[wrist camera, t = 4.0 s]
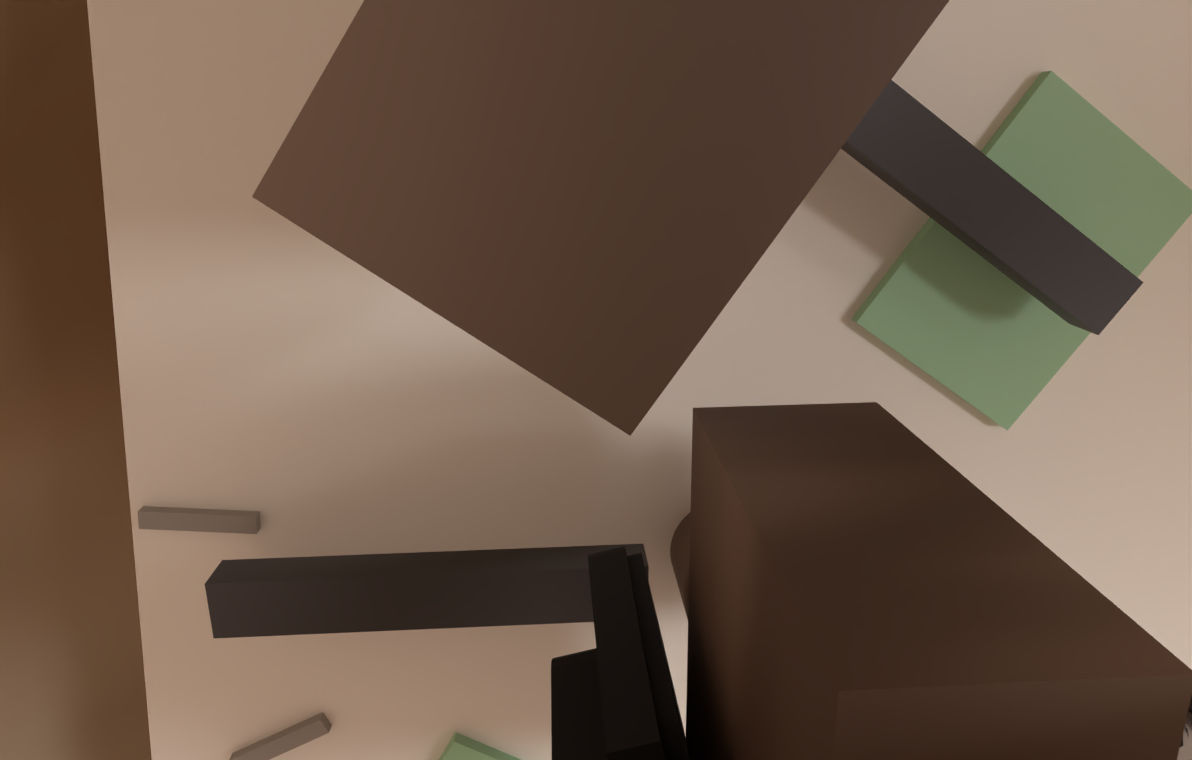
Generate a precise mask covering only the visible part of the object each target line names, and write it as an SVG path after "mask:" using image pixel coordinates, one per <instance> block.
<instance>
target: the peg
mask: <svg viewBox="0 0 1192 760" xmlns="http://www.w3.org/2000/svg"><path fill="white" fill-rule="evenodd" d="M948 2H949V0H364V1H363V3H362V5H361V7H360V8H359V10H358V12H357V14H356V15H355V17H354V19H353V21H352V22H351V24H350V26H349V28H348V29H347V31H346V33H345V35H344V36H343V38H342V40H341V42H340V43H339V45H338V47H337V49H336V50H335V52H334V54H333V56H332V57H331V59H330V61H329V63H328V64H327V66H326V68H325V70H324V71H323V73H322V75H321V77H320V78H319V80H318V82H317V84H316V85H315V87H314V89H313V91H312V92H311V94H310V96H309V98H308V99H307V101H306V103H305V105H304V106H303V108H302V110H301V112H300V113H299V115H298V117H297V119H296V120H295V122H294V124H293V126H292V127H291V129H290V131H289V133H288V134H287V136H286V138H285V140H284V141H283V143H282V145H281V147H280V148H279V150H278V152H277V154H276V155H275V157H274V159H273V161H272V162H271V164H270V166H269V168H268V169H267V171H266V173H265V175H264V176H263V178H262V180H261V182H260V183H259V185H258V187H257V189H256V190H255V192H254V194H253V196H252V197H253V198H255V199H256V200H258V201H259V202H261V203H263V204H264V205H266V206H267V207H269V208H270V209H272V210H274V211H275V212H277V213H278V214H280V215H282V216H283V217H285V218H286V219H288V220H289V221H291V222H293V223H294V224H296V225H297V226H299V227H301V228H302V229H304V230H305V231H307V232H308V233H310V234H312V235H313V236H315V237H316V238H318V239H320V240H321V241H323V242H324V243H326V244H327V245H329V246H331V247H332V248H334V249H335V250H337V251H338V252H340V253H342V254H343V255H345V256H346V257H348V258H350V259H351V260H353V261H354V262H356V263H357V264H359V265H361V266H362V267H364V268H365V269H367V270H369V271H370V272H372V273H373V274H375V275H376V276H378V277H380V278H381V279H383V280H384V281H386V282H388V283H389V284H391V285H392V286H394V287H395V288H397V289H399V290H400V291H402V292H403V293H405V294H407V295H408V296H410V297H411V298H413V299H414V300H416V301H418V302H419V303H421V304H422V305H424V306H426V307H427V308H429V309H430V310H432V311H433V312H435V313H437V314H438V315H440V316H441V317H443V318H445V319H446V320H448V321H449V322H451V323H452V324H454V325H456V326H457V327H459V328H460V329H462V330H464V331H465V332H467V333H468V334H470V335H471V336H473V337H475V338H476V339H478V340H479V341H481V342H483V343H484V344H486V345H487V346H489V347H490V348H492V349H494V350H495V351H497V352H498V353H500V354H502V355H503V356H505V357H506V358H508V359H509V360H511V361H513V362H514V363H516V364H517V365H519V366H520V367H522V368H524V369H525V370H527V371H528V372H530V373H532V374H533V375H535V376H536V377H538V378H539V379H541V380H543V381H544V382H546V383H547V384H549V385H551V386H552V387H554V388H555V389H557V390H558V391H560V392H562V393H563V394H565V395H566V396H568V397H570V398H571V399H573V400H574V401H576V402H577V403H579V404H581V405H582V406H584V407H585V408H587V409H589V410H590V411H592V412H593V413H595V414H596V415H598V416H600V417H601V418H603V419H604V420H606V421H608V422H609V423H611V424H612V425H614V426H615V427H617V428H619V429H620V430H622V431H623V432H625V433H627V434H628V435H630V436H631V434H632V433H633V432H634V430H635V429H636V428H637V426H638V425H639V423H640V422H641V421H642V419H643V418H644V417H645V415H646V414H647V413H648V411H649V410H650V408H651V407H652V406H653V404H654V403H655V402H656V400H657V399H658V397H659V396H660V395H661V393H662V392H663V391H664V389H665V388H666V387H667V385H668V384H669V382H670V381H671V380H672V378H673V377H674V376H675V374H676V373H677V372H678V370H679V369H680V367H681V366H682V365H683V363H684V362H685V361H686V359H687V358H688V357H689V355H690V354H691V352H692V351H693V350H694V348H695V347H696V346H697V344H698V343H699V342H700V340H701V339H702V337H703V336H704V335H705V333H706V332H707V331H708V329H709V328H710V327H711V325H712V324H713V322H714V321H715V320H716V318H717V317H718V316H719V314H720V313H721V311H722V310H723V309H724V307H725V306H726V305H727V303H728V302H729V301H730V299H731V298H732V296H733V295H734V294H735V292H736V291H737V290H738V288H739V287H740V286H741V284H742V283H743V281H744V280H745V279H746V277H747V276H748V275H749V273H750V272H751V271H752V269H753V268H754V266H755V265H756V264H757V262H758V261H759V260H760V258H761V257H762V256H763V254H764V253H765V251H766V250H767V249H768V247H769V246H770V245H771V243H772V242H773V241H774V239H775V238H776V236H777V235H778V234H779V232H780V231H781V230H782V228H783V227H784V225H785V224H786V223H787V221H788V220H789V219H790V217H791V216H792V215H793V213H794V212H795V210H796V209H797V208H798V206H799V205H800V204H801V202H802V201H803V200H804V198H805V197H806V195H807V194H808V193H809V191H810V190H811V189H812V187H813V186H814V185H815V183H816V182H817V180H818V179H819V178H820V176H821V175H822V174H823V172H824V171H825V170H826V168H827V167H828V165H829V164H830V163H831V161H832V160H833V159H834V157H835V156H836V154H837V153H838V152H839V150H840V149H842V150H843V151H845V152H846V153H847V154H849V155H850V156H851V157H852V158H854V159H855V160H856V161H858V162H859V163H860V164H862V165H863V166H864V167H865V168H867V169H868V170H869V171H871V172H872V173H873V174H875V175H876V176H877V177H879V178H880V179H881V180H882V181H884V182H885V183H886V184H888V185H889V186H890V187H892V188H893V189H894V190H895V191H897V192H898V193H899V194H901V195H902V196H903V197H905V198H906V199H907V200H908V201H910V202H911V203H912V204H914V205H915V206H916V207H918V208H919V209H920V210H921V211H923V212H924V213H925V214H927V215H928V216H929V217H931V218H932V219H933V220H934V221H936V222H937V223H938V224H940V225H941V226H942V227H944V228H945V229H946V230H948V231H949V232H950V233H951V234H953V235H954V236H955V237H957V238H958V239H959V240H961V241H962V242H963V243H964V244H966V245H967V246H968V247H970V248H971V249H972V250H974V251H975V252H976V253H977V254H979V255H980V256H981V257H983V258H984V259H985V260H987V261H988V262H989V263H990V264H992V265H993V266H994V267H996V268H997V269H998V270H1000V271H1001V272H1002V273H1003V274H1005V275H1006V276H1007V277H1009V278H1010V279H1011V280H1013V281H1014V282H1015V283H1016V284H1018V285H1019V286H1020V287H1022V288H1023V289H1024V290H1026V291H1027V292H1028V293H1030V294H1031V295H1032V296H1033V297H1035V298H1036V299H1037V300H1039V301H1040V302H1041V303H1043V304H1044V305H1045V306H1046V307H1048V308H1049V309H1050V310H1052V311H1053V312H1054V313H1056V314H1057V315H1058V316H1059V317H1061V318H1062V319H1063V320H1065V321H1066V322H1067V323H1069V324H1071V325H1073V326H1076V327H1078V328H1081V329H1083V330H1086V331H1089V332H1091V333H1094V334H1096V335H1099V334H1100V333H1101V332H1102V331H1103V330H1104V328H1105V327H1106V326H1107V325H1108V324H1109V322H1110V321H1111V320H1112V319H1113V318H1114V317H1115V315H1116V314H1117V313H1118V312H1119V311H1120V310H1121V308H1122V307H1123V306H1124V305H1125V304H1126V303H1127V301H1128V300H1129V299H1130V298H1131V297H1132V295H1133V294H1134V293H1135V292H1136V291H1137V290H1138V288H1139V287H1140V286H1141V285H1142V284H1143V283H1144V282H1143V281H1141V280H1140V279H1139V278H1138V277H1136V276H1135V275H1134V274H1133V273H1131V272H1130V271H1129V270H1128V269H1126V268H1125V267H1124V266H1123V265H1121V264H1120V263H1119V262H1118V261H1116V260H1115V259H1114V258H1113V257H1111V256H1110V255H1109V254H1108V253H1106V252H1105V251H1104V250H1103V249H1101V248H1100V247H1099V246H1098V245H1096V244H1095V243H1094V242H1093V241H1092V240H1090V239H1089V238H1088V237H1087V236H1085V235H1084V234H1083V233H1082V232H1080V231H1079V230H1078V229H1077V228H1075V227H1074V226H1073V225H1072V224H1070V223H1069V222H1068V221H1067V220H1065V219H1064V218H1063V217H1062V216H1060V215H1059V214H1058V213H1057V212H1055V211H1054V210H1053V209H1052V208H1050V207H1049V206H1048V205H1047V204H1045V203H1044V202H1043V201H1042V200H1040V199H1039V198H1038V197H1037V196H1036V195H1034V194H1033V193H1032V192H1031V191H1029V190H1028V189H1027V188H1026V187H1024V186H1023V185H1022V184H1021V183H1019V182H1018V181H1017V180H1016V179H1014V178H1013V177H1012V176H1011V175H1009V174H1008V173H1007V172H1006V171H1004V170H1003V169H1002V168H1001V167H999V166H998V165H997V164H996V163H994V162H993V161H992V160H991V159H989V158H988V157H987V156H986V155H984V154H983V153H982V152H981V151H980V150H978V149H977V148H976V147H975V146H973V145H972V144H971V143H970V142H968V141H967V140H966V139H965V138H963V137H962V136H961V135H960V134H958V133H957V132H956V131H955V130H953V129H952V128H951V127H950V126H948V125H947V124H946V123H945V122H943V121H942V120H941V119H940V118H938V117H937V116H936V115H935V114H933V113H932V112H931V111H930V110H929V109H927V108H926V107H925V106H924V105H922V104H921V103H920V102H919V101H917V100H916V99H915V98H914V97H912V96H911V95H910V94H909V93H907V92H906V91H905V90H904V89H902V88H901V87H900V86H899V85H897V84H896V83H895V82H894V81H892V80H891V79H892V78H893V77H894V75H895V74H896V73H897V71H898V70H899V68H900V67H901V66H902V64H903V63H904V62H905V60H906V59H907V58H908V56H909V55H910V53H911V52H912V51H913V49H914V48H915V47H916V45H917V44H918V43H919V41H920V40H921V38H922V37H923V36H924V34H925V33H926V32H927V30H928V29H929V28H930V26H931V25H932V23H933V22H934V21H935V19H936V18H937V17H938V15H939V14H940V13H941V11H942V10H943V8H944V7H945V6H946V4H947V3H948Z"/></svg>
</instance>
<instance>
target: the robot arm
mask: <svg viewBox="0 0 1192 760" xmlns="http://www.w3.org/2000/svg"><path fill="white" fill-rule="evenodd" d="M588 566H589V576H590V587H591V597H592V608H593V618H594V629H595V639H596V648H595V649H590V650H586V651H582V652H577V653H573V654H569V655H564V656H560V657H556V658H553V659H552V660H551V737H552V760H690V756H689V751H688V747H687V742H686V736H685V732H684V728H683V723H682V719H681V715H680V710H679V706H678V702H677V698H676V694H675V690H674V685H673V681H672V677H671V673H670V669H669V665H668V660H667V656H666V652H665V648H664V644H663V640H662V635H661V631H660V627H659V623H658V619H657V615H656V610H655V606H654V602H653V598H652V594H651V590H650V585H649V581H648V577H647V573H646V569H645V565H644V560H643V556H642V552H641V553H637V554H633V555H629V556H627V552H626V549H625V546H622V547H618V548H614V549H610V550H605V551H601V552H597V553H593V554H588ZM1177 760H1192V695H1191V700H1190V704H1189V709H1188V713H1187V717H1186V722H1185V726H1184V731H1183V735H1182V740H1181V744H1180V748H1179V753H1178V757H1177Z"/></svg>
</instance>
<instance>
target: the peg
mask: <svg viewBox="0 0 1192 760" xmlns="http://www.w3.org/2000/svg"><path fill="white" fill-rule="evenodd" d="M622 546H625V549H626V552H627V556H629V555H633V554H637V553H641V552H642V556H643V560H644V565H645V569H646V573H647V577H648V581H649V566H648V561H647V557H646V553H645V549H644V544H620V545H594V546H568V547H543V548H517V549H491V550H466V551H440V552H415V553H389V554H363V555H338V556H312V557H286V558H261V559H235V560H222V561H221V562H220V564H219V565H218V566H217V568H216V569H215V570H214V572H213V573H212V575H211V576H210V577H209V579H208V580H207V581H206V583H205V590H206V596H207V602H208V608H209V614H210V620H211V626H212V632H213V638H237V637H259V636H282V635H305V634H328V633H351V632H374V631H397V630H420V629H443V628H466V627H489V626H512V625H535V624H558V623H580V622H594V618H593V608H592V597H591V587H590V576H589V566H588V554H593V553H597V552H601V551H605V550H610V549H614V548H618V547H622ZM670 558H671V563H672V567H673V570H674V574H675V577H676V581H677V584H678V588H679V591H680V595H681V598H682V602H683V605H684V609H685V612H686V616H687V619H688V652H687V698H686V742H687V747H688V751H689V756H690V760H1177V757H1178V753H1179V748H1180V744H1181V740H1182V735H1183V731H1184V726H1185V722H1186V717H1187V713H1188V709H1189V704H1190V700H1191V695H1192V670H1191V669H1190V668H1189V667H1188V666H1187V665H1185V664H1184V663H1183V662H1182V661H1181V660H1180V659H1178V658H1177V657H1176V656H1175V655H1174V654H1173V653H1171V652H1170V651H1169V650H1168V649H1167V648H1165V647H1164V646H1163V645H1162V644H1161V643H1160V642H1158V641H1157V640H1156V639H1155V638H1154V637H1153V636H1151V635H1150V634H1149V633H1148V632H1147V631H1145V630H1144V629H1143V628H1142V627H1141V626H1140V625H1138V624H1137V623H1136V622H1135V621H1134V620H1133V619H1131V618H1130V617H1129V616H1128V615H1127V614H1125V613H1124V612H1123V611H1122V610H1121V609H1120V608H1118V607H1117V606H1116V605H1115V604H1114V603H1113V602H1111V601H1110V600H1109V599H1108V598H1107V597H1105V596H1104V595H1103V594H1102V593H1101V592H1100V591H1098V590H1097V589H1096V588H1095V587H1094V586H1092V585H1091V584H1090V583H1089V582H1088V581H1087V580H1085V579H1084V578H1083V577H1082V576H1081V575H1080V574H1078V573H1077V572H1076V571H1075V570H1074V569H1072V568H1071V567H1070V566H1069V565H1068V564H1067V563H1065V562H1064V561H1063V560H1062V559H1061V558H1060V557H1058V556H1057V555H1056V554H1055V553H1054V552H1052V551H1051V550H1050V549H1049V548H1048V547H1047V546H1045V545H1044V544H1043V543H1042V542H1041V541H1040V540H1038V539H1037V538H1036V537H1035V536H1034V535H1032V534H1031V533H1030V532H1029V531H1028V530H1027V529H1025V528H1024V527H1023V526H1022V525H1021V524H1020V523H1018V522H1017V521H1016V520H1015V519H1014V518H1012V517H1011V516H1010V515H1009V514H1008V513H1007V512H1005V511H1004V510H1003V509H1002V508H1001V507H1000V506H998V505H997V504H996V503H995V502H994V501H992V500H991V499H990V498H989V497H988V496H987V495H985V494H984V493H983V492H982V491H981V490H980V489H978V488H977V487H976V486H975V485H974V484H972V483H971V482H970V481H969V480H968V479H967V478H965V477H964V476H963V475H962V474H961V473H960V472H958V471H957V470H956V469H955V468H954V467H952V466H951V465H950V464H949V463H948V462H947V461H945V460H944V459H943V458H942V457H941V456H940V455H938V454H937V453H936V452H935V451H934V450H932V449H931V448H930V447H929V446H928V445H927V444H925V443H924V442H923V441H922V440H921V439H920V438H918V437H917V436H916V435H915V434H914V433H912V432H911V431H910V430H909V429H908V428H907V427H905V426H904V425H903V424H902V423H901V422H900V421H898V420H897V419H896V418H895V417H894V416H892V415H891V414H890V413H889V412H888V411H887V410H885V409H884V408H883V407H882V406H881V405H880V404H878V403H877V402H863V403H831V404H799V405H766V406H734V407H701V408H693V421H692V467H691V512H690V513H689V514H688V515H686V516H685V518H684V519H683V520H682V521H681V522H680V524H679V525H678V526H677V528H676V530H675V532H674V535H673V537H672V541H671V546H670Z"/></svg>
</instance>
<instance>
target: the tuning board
mask: <svg viewBox="0 0 1192 760" xmlns="http://www.w3.org/2000/svg"><path fill="white" fill-rule="evenodd" d="M363 1H364V0H87V7H88V18H89V30H90V42H91V54H92V65H93V77H94V89H95V100H96V112H97V124H98V136H99V147H100V159H101V171H102V183H103V194H104V206H105V218H106V229H107V241H108V253H109V265H110V276H111V288H112V300H113V311H114V323H115V335H116V347H117V358H118V370H119V382H120V393H121V405H122V417H123V429H124V440H125V452H126V464H127V475H128V487H129V499H130V511H131V522H132V534H133V546H134V557H135V569H136V581H137V593H138V604H139V616H140V628H141V639H142V651H143V663H144V675H145V686H146V698H147V710H148V721H149V733H150V745H151V757H152V760H552V737H551V660H552V659H553V658H556V657H560V656H564V655H569V654H573V653H577V652H582V651H586V650H590V649H595V648H596V639H595V629H594V622H580V623H558V624H535V625H512V626H489V627H466V628H443V629H420V630H397V631H374V632H351V633H328V634H305V635H282V636H259V637H237V638H213V632H212V626H211V620H210V614H209V608H208V602H207V596H206V590H205V583H206V581H207V580H208V579H209V577H210V576H211V575H212V573H213V572H214V570H215V569H216V568H217V566H218V565H219V564H220V562H221V561H222V560H235V559H261V558H286V557H312V556H338V555H363V554H389V553H415V552H440V551H466V550H491V549H517V548H543V547H568V546H594V545H620V544H644V549H645V553H646V557H647V561H648V566H649V585H650V590H651V594H652V598H653V602H654V606H655V610H656V615H657V619H658V623H659V627H660V631H661V635H662V640H663V644H664V648H665V652H666V656H667V660H668V665H669V669H670V673H671V677H672V681H673V685H674V690H675V694H676V698H677V702H678V706H679V710H680V715H681V719H682V723H683V728H684V732H685V736H686V698H687V652H688V619H687V616H686V612H685V609H684V605H683V602H682V598H681V595H680V591H679V588H678V584H677V581H676V577H675V574H674V570H673V567H672V563H671V558H670V546H671V541H672V537H673V535H674V532H675V530H676V528H677V526H678V525H679V524H680V522H681V521H682V520H683V519H684V518H685V516H686V515H688V514H689V513H690V512H691V467H692V421H693V408H701V407H734V406H766V405H799V404H831V403H863V402H877V403H878V404H880V405H881V406H882V407H883V408H884V409H885V410H887V411H888V412H889V413H890V414H891V415H892V416H894V417H895V418H896V419H897V420H898V421H900V422H901V423H902V424H903V425H904V426H905V427H907V428H908V429H909V430H910V431H911V432H912V433H914V434H915V435H916V436H917V437H918V438H920V439H921V440H922V441H923V442H924V443H925V444H927V445H928V446H929V447H930V448H931V449H932V450H934V451H935V452H936V453H937V454H938V455H940V456H941V457H942V458H943V459H944V460H945V461H947V462H948V463H949V464H950V465H951V466H952V467H954V468H955V469H956V470H957V471H958V472H960V473H961V474H962V475H963V476H964V477H965V478H967V479H968V480H969V481H970V482H971V483H972V484H974V485H975V486H976V487H977V488H978V489H980V490H981V491H982V492H983V493H984V494H985V495H987V496H988V497H989V498H990V499H991V500H992V501H994V502H995V503H996V504H997V505H998V506H1000V507H1001V508H1002V509H1003V510H1004V511H1005V512H1007V513H1008V514H1009V515H1010V516H1011V517H1012V518H1014V519H1015V520H1016V521H1017V522H1018V523H1020V524H1021V525H1022V526H1023V527H1024V528H1025V529H1027V530H1028V531H1029V532H1030V533H1031V534H1032V535H1034V536H1035V537H1036V538H1037V539H1038V540H1040V541H1041V542H1042V543H1043V544H1044V545H1045V546H1047V547H1048V548H1049V549H1050V550H1051V551H1052V552H1054V553H1055V554H1056V555H1057V556H1058V557H1060V558H1061V559H1062V560H1063V561H1064V562H1065V563H1067V564H1068V565H1069V566H1070V567H1071V568H1072V569H1074V570H1075V571H1076V572H1077V573H1078V574H1080V575H1081V576H1082V577H1083V578H1084V579H1085V580H1087V581H1088V582H1089V583H1090V584H1091V585H1092V586H1094V587H1095V588H1096V589H1097V590H1098V591H1100V592H1101V593H1102V594H1103V595H1104V596H1105V597H1107V598H1108V599H1109V600H1110V601H1111V602H1113V603H1114V604H1115V605H1116V606H1117V607H1118V608H1120V609H1121V610H1122V611H1123V612H1124V613H1125V614H1127V615H1128V616H1129V617H1130V618H1131V619H1133V620H1134V621H1135V622H1136V623H1137V624H1138V625H1140V626H1141V627H1142V628H1143V629H1144V630H1145V631H1147V632H1148V633H1149V634H1150V635H1151V636H1153V637H1154V638H1155V639H1156V640H1157V641H1158V642H1160V643H1161V644H1162V645H1163V646H1164V647H1165V648H1167V649H1168V650H1169V651H1170V652H1171V653H1173V654H1174V655H1175V656H1176V657H1177V658H1178V659H1180V660H1181V661H1182V662H1183V663H1184V664H1185V665H1187V666H1188V667H1189V668H1190V669H1191V670H1192V0H949V2H948V3H947V4H946V6H945V7H944V8H943V10H942V11H941V13H940V14H939V15H938V17H937V18H936V19H935V21H934V22H933V23H932V25H931V26H930V28H929V29H928V30H927V32H926V33H925V34H924V36H923V37H922V38H921V40H920V41H919V43H918V44H917V45H916V47H915V48H914V49H913V51H912V52H911V53H910V55H909V56H908V58H907V59H906V60H905V62H904V63H903V64H902V66H901V67H900V68H899V70H898V71H897V73H896V74H895V75H894V77H893V78H892V79H891V80H892V81H894V82H895V83H896V84H897V85H899V86H900V87H901V88H902V89H904V90H905V91H906V92H907V93H909V94H910V95H911V96H912V97H914V98H915V99H916V100H917V101H919V102H920V103H921V104H922V105H924V106H925V107H926V108H927V109H929V110H930V111H931V112H932V113H933V114H935V115H936V116H937V117H938V118H940V119H941V120H942V121H943V122H945V123H946V124H947V125H948V126H950V127H951V128H952V129H953V130H955V131H956V132H957V133H958V134H960V135H961V136H962V137H963V138H965V139H966V140H967V141H968V142H970V143H971V144H972V145H973V146H975V147H976V148H977V149H978V150H980V151H981V152H982V153H983V154H984V155H986V156H987V157H988V158H989V159H991V160H992V161H993V162H994V163H996V164H997V165H998V166H999V167H1001V168H1002V169H1003V170H1004V171H1006V172H1007V173H1008V174H1009V175H1011V176H1012V177H1013V178H1014V179H1016V180H1017V181H1018V182H1019V183H1021V184H1022V185H1023V186H1024V187H1026V188H1027V189H1028V190H1029V191H1031V192H1032V193H1033V194H1034V195H1036V196H1037V197H1038V198H1039V199H1040V200H1042V201H1043V202H1044V203H1045V204H1047V205H1048V206H1049V207H1050V208H1052V209H1053V210H1054V211H1055V212H1057V213H1058V214H1059V215H1060V216H1062V217H1063V218H1064V219H1065V220H1067V221H1068V222H1069V223H1070V224H1072V225H1073V226H1074V227H1075V228H1077V229H1078V230H1079V231H1080V232H1082V233H1083V234H1084V235H1085V236H1087V237H1088V238H1089V239H1090V240H1092V241H1093V242H1094V243H1095V244H1096V245H1098V246H1099V247H1100V248H1101V249H1103V250H1104V251H1105V252H1106V253H1108V254H1109V255H1110V256H1111V257H1113V258H1114V259H1115V260H1116V261H1118V262H1119V263H1120V264H1121V265H1123V266H1124V267H1125V268H1126V269H1128V270H1129V271H1130V272H1131V273H1133V274H1134V275H1135V276H1136V277H1138V278H1139V279H1140V280H1141V281H1143V282H1144V283H1143V284H1142V285H1141V286H1140V287H1139V288H1138V290H1137V291H1136V292H1135V293H1134V294H1133V295H1132V297H1131V298H1130V299H1129V300H1128V301H1127V303H1126V304H1125V305H1124V306H1123V307H1122V308H1121V310H1120V311H1119V312H1118V313H1117V314H1116V315H1115V317H1114V318H1113V319H1112V320H1111V321H1110V322H1109V324H1108V325H1107V326H1106V327H1105V328H1104V330H1103V331H1102V332H1101V333H1100V334H1099V335H1096V334H1094V333H1091V332H1089V331H1086V330H1083V329H1081V328H1078V327H1076V326H1073V325H1071V324H1069V323H1067V322H1066V321H1065V320H1063V319H1062V318H1061V317H1059V316H1058V315H1057V314H1056V313H1054V312H1053V311H1052V310H1050V309H1049V308H1048V307H1046V306H1045V305H1044V304H1043V303H1041V302H1040V301H1039V300H1037V299H1036V298H1035V297H1033V296H1032V295H1031V294H1030V293H1028V292H1027V291H1026V290H1024V289H1023V288H1022V287H1020V286H1019V285H1018V284H1016V283H1015V282H1014V281H1013V280H1011V279H1010V278H1009V277H1007V276H1006V275H1005V274H1003V273H1002V272H1001V271H1000V270H998V269H997V268H996V267H994V266H993V265H992V264H990V263H989V262H988V261H987V260H985V259H984V258H983V257H981V256H980V255H979V254H977V253H976V252H975V251H974V250H972V249H971V248H970V247H968V246H967V245H966V244H964V243H963V242H962V241H961V240H959V239H958V238H957V237H955V236H954V235H953V234H951V233H950V232H949V231H948V230H946V229H945V228H944V227H942V226H941V225H940V224H938V223H937V222H936V221H934V220H933V219H932V218H931V217H929V216H928V215H927V214H925V213H924V212H923V211H921V210H920V209H919V208H918V207H916V206H915V205H914V204H912V203H911V202H910V201H908V200H907V199H906V198H905V197H903V196H902V195H901V194H899V193H898V192H897V191H895V190H894V189H893V188H892V187H890V186H889V185H888V184H886V183H885V182H884V181H882V180H881V179H880V178H879V177H877V176H876V175H875V174H873V173H872V172H871V171H869V170H868V169H867V168H865V167H864V166H863V165H862V164H860V163H859V162H858V161H856V160H855V159H854V158H852V157H851V156H850V155H849V154H847V153H846V152H845V151H843V150H842V149H840V150H839V152H838V153H837V154H836V156H835V157H834V159H833V160H832V161H831V163H830V164H829V165H828V167H827V168H826V170H825V171H824V172H823V174H822V175H821V176H820V178H819V179H818V180H817V182H816V183H815V185H814V186H813V187H812V189H811V190H810V191H809V193H808V194H807V195H806V197H805V198H804V200H803V201H802V202H801V204H800V205H799V206H798V208H797V209H796V210H795V212H794V213H793V215H792V216H791V217H790V219H789V220H788V221H787V223H786V224H785V225H784V227H783V228H782V230H781V231H780V232H779V234H778V235H777V236H776V238H775V239H774V241H773V242H772V243H771V245H770V246H769V247H768V249H767V250H766V251H765V253H764V254H763V256H762V257H761V258H760V260H759V261H758V262H757V264H756V265H755V266H754V268H753V269H752V271H751V272H750V273H749V275H748V276H747V277H746V279H745V280H744V281H743V283H742V284H741V286H740V287H739V288H738V290H737V291H736V292H735V294H734V295H733V296H732V298H731V299H730V301H729V302H728V303H727V305H726V306H725V307H724V309H723V310H722V311H721V313H720V314H719V316H718V317H717V318H716V320H715V321H714V322H713V324H712V325H711V327H710V328H709V329H708V331H707V332H706V333H705V335H704V336H703V337H702V339H701V340H700V342H699V343H698V344H697V346H696V347H695V348H694V350H693V351H692V352H691V354H690V355H689V357H688V358H687V359H686V361H685V362H684V363H683V365H682V366H681V367H680V369H679V370H678V372H677V373H676V374H675V376H674V377H673V378H672V380H671V381H670V382H669V384H668V385H667V387H666V388H665V389H664V391H663V392H662V393H661V395H660V396H659V397H658V399H657V400H656V402H655V403H654V404H653V406H652V407H651V408H650V410H649V411H648V413H647V414H646V415H645V417H644V418H643V419H642V421H641V422H640V423H639V425H638V426H637V428H636V429H635V430H634V432H633V433H632V434H631V436H630V435H628V434H627V433H625V432H623V431H622V430H620V429H619V428H617V427H615V426H614V425H612V424H611V423H609V422H608V421H606V420H604V419H603V418H601V417H600V416H598V415H596V414H595V413H593V412H592V411H590V410H589V409H587V408H585V407H584V406H582V405H581V404H579V403H577V402H576V401H574V400H573V399H571V398H570V397H568V396H566V395H565V394H563V393H562V392H560V391H558V390H557V389H555V388H554V387H552V386H551V385H549V384H547V383H546V382H544V381H543V380H541V379H539V378H538V377H536V376H535V375H533V374H532V373H530V372H528V371H527V370H525V369H524V368H522V367H520V366H519V365H517V364H516V363H514V362H513V361H511V360H509V359H508V358H506V357H505V356H503V355H502V354H500V353H498V352H497V351H495V350H494V349H492V348H490V347H489V346H487V345H486V344H484V343H483V342H481V341H479V340H478V339H476V338H475V337H473V336H471V335H470V334H468V333H467V332H465V331H464V330H462V329H460V328H459V327H457V326H456V325H454V324H452V323H451V322H449V321H448V320H446V319H445V318H443V317H441V316H440V315H438V314H437V313H435V312H433V311H432V310H430V309H429V308H427V307H426V306H424V305H422V304H421V303H419V302H418V301H416V300H414V299H413V298H411V297H410V296H408V295H407V294H405V293H403V292H402V291H400V290H399V289H397V288H395V287H394V286H392V285H391V284H389V283H388V282H386V281H384V280H383V279H381V278H380V277H378V276H376V275H375V274H373V273H372V272H370V271H369V270H367V269H365V268H364V267H362V266H361V265H359V264H357V263H356V262H354V261H353V260H351V259H350V258H348V257H346V256H345V255H343V254H342V253H340V252H338V251H337V250H335V249H334V248H332V247H331V246H329V245H327V244H326V243H324V242H323V241H321V240H320V239H318V238H316V237H315V236H313V235H312V234H310V233H308V232H307V231H305V230H304V229H302V228H301V227H299V226H297V225H296V224H294V223H293V222H291V221H289V220H288V219H286V218H285V217H283V216H282V215H280V214H278V213H277V212H275V211H274V210H272V209H270V208H269V207H267V206H266V205H264V204H263V203H261V202H259V201H258V200H256V199H255V198H253V197H252V196H253V194H254V192H255V190H256V189H257V187H258V185H259V183H260V182H261V180H262V178H263V176H264V175H265V173H266V171H267V169H268V168H269V166H270V164H271V162H272V161H273V159H274V157H275V155H276V154H277V152H278V150H279V148H280V147H281V145H282V143H283V141H284V140H285V138H286V136H287V134H288V133H289V131H290V129H291V127H292V126H293V124H294V122H295V120H296V119H297V117H298V115H299V113H300V112H301V110H302V108H303V106H304V105H305V103H306V101H307V99H308V98H309V96H310V94H311V92H312V91H313V89H314V87H315V85H316V84H317V82H318V80H319V78H320V77H321V75H322V73H323V71H324V70H325V68H326V66H327V64H328V63H329V61H330V59H331V57H332V56H333V54H334V52H335V50H336V49H337V47H338V45H339V43H340V42H341V40H342V38H343V36H344V35H345V33H346V31H347V29H348V28H349V26H350V24H351V22H352V21H353V19H354V17H355V15H356V14H357V12H358V10H359V8H360V7H361V5H362V3H363Z"/></svg>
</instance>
